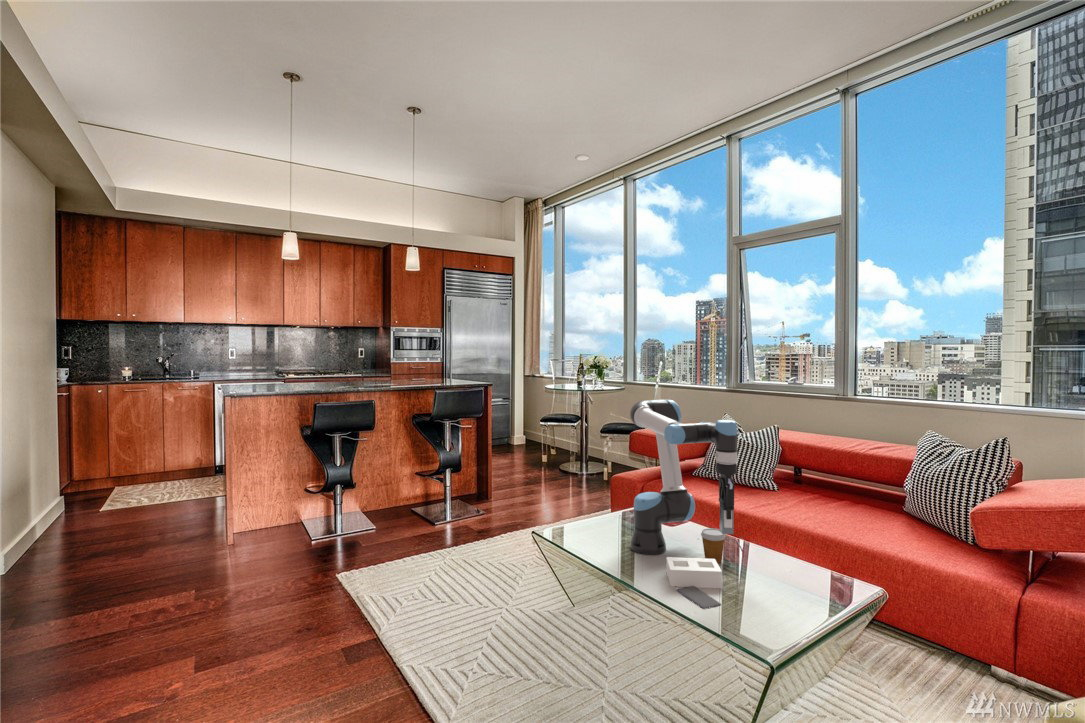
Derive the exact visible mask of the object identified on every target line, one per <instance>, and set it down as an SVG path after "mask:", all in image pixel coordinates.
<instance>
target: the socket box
mask: <svg viewBox="0 0 1085 723" xmlns="http://www.w3.org/2000/svg"><path fill="white" fill-rule="evenodd" d="M665 559H666V560H665V561H666V575H667V579H668V582H669V586H670V587H675V586H677V587H678V588H679V587H680V588H684V587H689V586H695V587H696V588H698V589H699V588H701V589H702V588H703V589H705V588H706V589H723V571H722V569H721V567H720V566H719V565H720V564H717V562H716V560H715V559H708V558H705V557H674V556H666V558H665ZM677 587H676V588H677Z"/></svg>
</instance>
